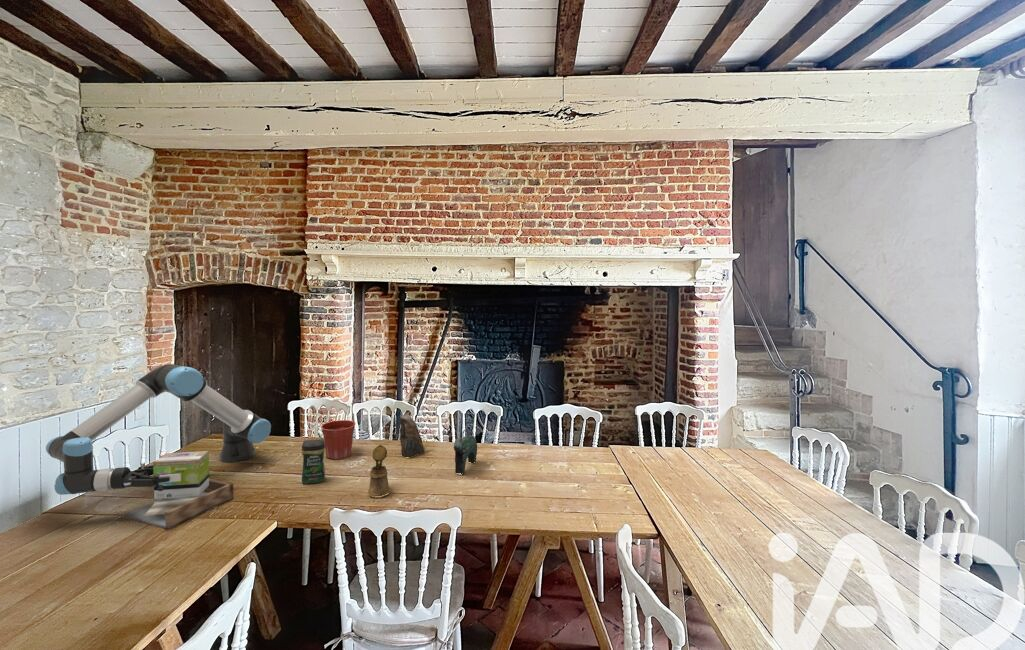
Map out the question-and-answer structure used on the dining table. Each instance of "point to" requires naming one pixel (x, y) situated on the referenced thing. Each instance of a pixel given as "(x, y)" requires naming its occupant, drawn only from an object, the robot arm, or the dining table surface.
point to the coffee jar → (313, 461)
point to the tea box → (182, 474)
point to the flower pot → (338, 438)
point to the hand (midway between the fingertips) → (185, 471)
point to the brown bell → (378, 474)
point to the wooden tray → (182, 506)
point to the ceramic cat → (464, 451)
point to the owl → (410, 437)
